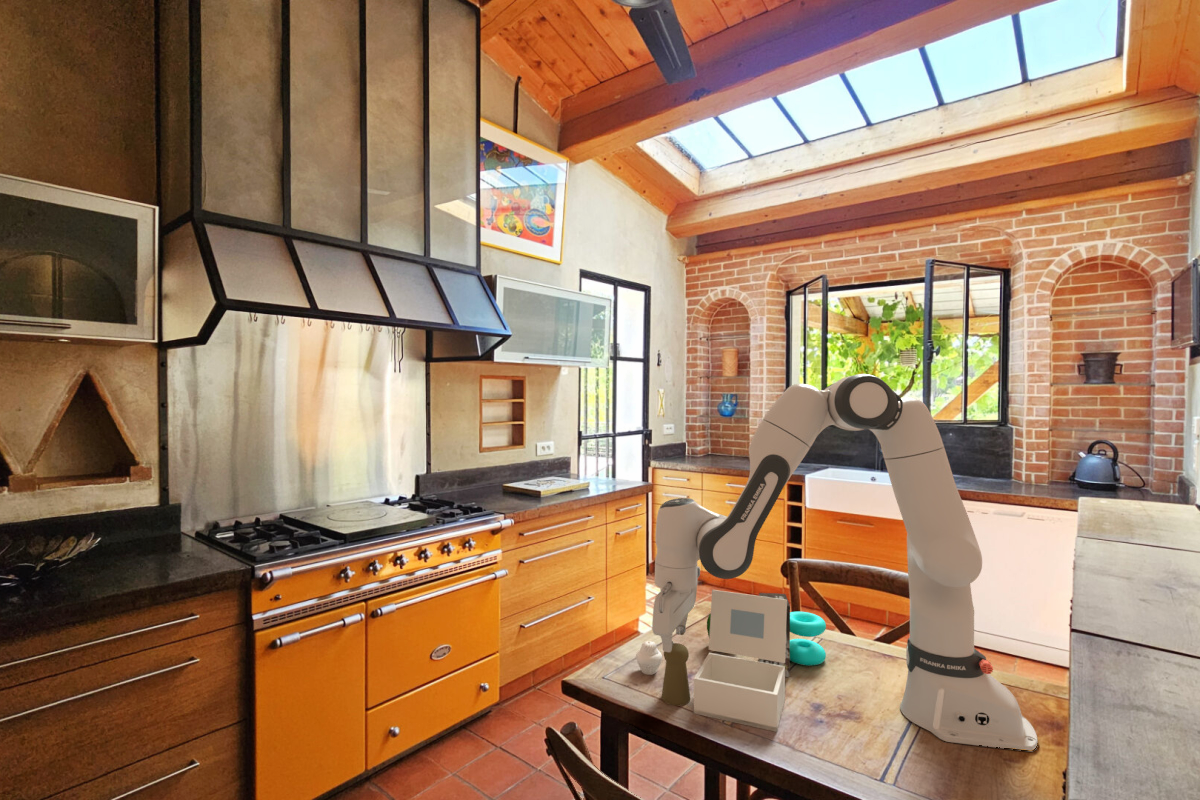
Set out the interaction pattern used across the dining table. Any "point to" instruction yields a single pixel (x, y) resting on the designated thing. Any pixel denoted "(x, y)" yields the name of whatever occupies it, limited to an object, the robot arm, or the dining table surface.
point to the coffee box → (787, 652)
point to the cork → (676, 676)
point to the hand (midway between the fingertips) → (674, 641)
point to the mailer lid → (748, 625)
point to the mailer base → (740, 691)
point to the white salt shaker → (649, 658)
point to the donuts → (803, 648)
